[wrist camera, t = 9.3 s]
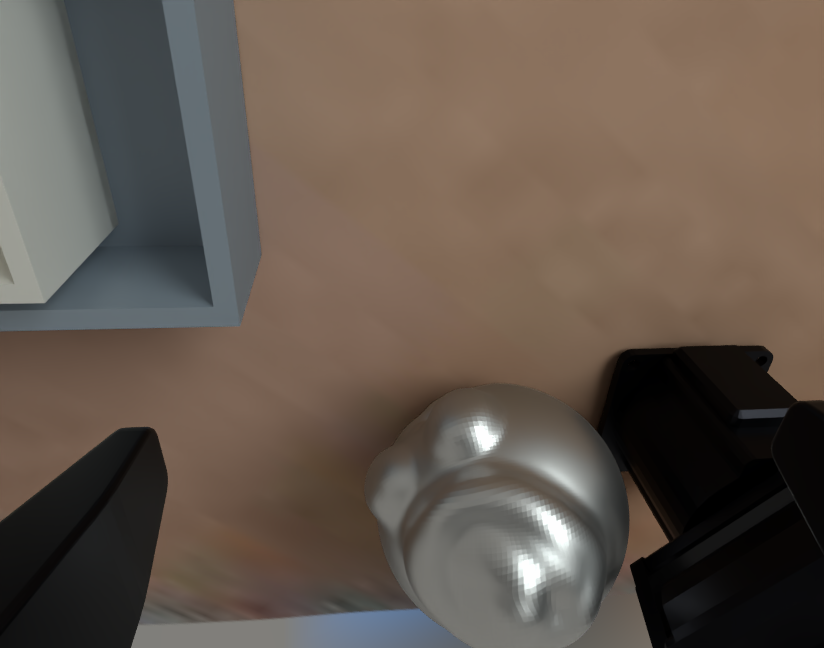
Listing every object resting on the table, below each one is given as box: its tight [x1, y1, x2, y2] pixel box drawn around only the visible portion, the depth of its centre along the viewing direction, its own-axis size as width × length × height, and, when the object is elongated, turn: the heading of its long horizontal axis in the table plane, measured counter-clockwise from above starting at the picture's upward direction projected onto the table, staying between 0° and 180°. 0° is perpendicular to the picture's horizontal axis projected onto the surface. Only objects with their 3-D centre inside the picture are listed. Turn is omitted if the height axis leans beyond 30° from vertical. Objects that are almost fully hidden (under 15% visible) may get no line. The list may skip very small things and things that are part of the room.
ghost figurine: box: [364, 383, 629, 648], centre depth 19 cm, size 9×9×10 cm
